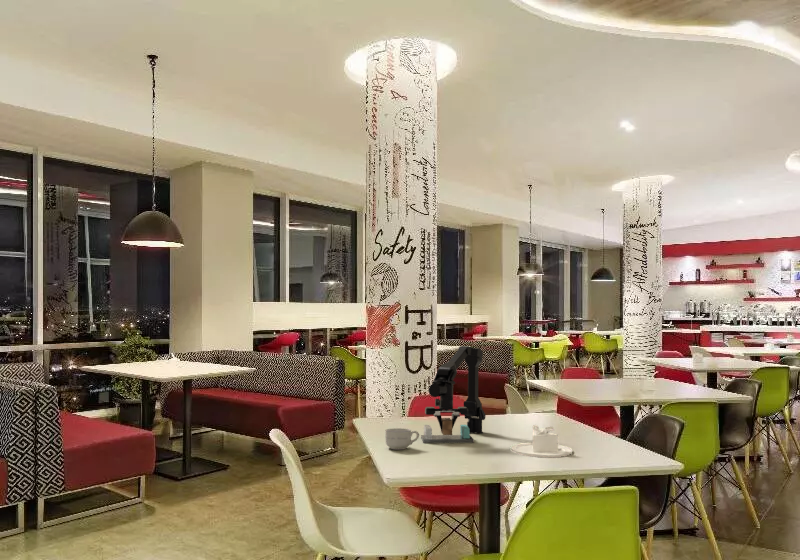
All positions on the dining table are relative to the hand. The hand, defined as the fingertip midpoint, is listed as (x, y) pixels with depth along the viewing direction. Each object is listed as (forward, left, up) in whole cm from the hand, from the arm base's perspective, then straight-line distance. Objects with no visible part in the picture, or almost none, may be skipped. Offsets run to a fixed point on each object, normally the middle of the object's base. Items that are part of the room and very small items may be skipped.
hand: (446, 430), depth 284 cm
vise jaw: (-8, 0, -3) cm, 9 cm away
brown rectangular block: (0, 0, -1) cm, 1 cm away
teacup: (+21, +17, -5) cm, 27 cm away
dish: (-36, +22, -5) cm, 43 cm away
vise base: (0, 0, -4) cm, 4 cm away
